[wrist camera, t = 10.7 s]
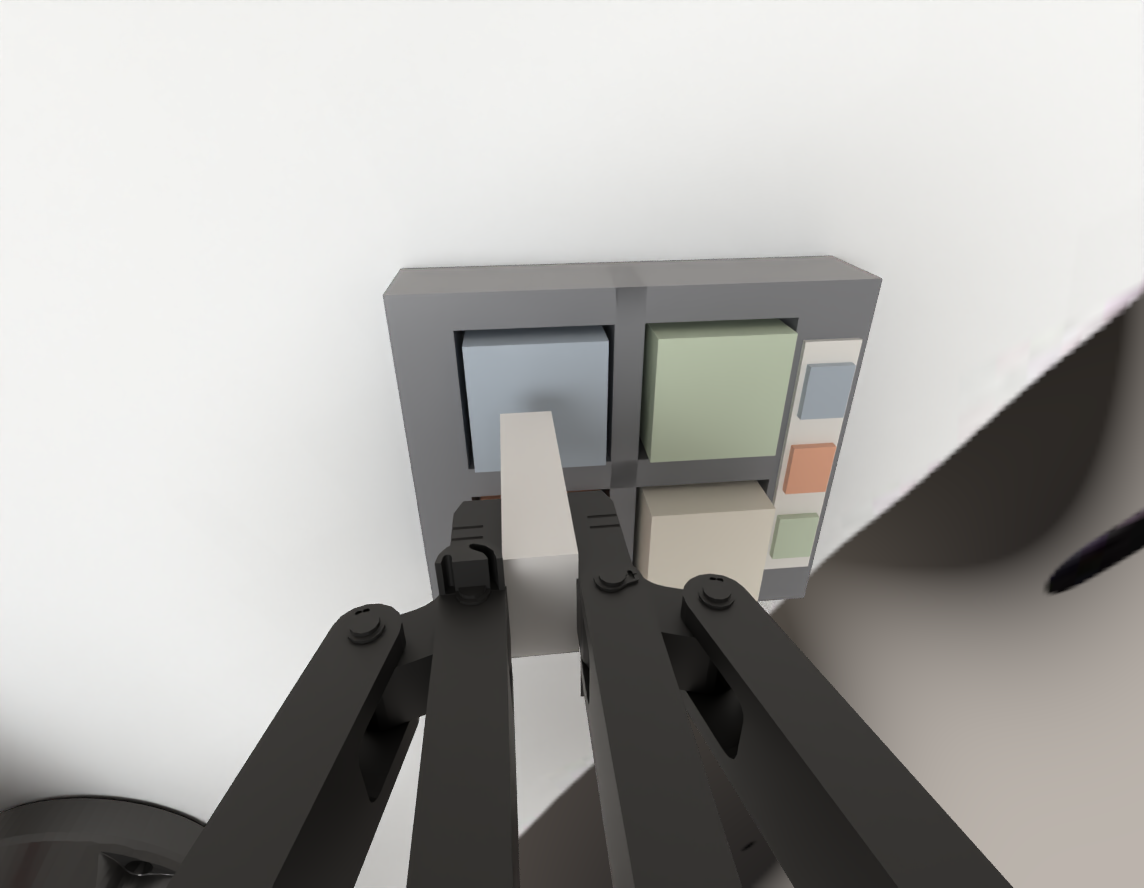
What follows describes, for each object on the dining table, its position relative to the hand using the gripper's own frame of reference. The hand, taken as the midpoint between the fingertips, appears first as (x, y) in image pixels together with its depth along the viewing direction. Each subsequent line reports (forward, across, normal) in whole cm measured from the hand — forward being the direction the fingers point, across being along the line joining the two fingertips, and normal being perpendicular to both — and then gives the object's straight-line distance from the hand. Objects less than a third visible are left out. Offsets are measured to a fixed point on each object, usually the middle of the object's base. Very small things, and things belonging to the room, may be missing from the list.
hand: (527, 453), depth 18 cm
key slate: (+5, -1, 0) cm, 5 cm away
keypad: (+7, -4, +3) cm, 8 cm away
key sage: (+5, -7, 0) cm, 9 cm away
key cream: (+5, -7, +6) cm, 10 cm away
